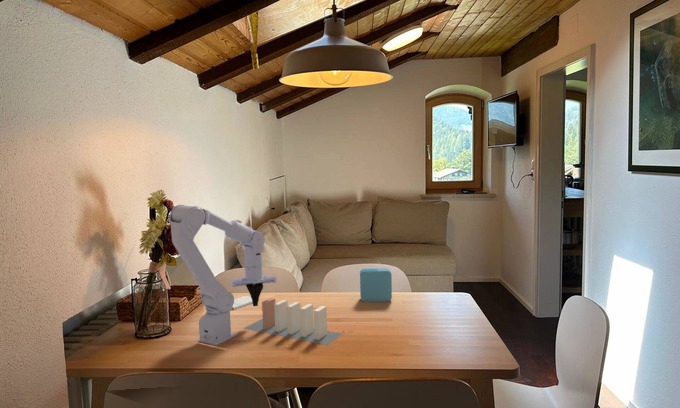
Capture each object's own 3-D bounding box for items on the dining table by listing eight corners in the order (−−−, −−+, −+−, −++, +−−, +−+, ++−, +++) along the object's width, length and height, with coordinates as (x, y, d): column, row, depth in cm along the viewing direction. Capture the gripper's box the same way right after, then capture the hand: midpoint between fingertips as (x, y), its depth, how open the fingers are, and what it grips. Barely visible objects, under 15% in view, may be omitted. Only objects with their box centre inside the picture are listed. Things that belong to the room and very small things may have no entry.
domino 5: (318, 339, 144) (318, 311, 144) (314, 339, 145) (313, 310, 144) (327, 334, 149) (326, 306, 148) (322, 333, 150) (322, 305, 149)
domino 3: (292, 334, 149) (291, 306, 148) (287, 333, 150) (287, 306, 149) (300, 329, 154) (300, 302, 153) (296, 328, 154) (295, 301, 154)
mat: (326, 346, 140) (326, 345, 140) (243, 329, 156) (243, 328, 156) (342, 335, 149) (342, 333, 149) (262, 320, 164) (262, 318, 164)
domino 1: (266, 329, 154) (265, 302, 153) (263, 328, 155) (262, 302, 154) (276, 324, 158) (275, 298, 158) (272, 323, 159) (271, 297, 158)
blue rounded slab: (390, 297, 187) (390, 268, 186) (391, 301, 183) (391, 270, 181) (360, 298, 187) (359, 268, 186) (360, 301, 183) (360, 271, 182)
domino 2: (279, 332, 152) (278, 304, 151) (275, 331, 152) (274, 304, 152) (288, 326, 156) (287, 300, 155) (284, 326, 157) (283, 299, 156)
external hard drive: (259, 302, 186) (234, 311, 177) (245, 299, 191) (220, 307, 182) (259, 298, 186) (234, 307, 176) (245, 295, 191) (220, 303, 181)
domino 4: (305, 337, 147) (304, 309, 146) (301, 336, 148) (300, 308, 147) (313, 331, 151) (313, 304, 150) (309, 331, 152) (308, 303, 151)
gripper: (232, 270, 151) (234, 311, 153) (277, 266, 156) (278, 306, 157) (230, 265, 158) (232, 305, 160) (273, 261, 163) (275, 300, 164)
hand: (255, 305), depth 159 cm, fingers closed
